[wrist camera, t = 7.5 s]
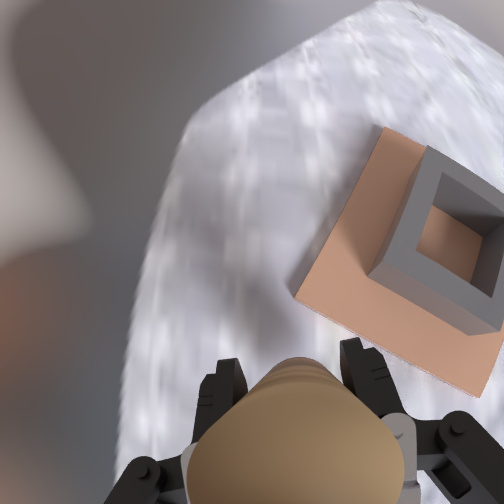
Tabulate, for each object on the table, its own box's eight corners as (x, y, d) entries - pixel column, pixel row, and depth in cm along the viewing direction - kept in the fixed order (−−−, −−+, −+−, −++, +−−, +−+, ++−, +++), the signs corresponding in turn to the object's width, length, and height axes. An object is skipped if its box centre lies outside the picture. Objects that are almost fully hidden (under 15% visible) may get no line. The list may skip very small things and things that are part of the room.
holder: (382, 133, 23) (394, 93, 18) (524, 222, 19) (555, 199, 14) (294, 299, 20) (293, 285, 15) (472, 396, 16) (510, 404, 11)
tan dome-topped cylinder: (286, 344, 16) (259, 349, 5) (348, 378, 15) (443, 443, 4) (248, 402, 16) (153, 501, 4) (309, 436, 14) (319, 579, 3)
